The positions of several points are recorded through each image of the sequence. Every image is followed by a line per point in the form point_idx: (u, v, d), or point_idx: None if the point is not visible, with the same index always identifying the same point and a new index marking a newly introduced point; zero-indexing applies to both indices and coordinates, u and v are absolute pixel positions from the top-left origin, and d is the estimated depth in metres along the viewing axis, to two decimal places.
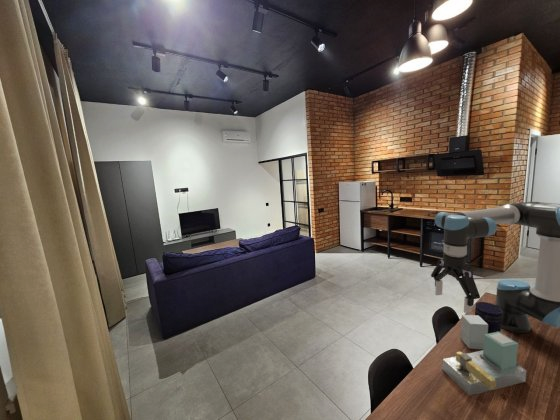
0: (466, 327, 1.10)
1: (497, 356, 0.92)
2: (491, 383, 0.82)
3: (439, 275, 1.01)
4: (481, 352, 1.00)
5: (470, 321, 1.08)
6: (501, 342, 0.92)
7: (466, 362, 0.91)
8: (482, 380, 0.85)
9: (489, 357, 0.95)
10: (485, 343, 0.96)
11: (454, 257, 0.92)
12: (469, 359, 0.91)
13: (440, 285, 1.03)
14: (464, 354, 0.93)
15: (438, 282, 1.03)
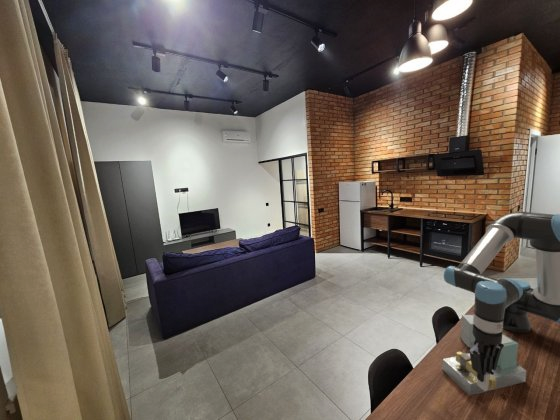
0: (466, 327, 1.10)
1: None
2: (492, 383, 0.82)
3: (485, 364, 0.80)
4: None
5: (470, 321, 1.08)
6: (501, 342, 0.92)
7: (466, 362, 0.91)
8: None
9: None
10: None
11: None
12: (469, 359, 0.91)
13: None
14: (464, 354, 0.93)
15: None
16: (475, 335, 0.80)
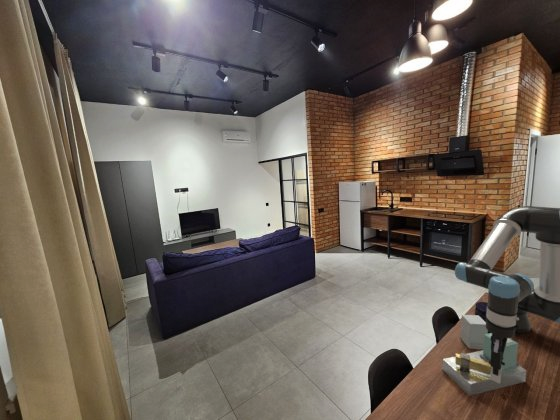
0: (466, 327, 1.10)
1: None
2: None
3: (501, 358, 0.82)
4: (481, 352, 1.00)
5: (470, 321, 1.08)
6: None
7: (470, 362, 0.91)
8: None
9: (489, 357, 0.95)
10: (485, 343, 0.96)
11: None
12: (469, 357, 0.92)
13: None
14: (462, 354, 0.93)
15: None
16: (494, 332, 0.81)
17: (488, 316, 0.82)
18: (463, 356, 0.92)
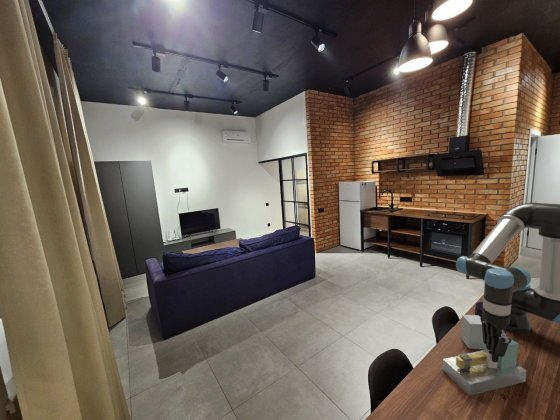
0: (466, 327, 1.10)
1: None
2: None
3: None
4: None
5: (470, 321, 1.08)
6: None
7: (470, 360, 0.91)
8: (484, 361, 0.93)
9: None
10: None
11: None
12: None
13: None
14: (462, 355, 0.92)
15: None
16: (499, 323, 0.84)
17: (491, 310, 0.85)
18: (465, 357, 0.92)
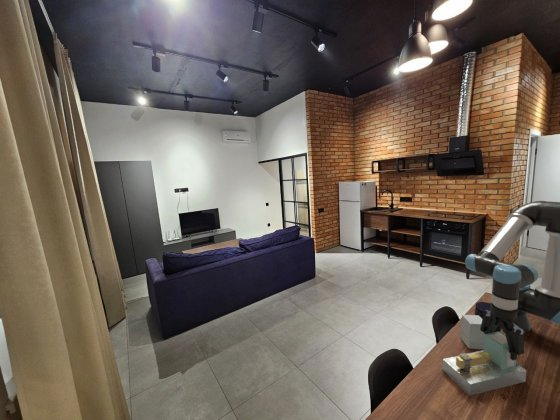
0: (466, 327, 1.10)
1: (497, 356, 0.92)
2: None
3: None
4: None
5: (470, 321, 1.08)
6: (501, 342, 0.92)
7: (470, 360, 0.91)
8: (484, 361, 0.93)
9: None
10: (485, 343, 0.96)
11: None
12: None
13: None
14: (462, 355, 0.92)
15: None
16: (511, 318, 0.88)
17: (504, 306, 0.88)
18: (465, 357, 0.92)
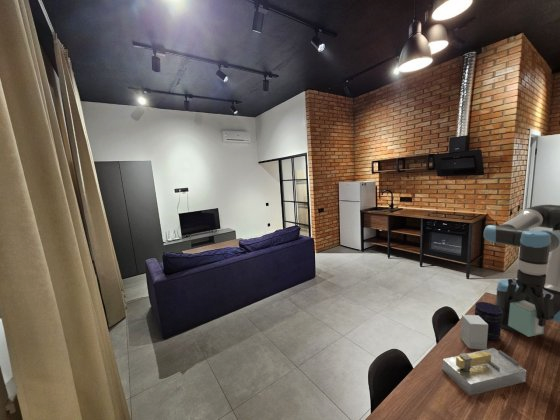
0: (466, 327, 1.10)
1: (524, 323, 0.91)
2: None
3: None
4: None
5: (470, 321, 1.08)
6: (529, 309, 0.90)
7: (470, 360, 0.91)
8: (484, 361, 0.93)
9: (515, 325, 0.94)
10: (511, 311, 0.95)
11: None
12: None
13: None
14: (462, 355, 0.92)
15: None
16: (540, 283, 0.87)
17: (533, 270, 0.87)
18: (465, 357, 0.92)
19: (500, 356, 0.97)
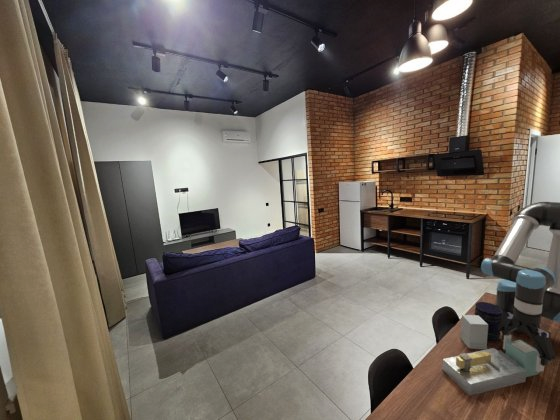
0: (466, 327, 1.10)
1: (520, 365, 0.94)
2: None
3: None
4: None
5: (470, 321, 1.08)
6: (524, 351, 0.93)
7: (470, 360, 0.91)
8: (484, 361, 0.93)
9: None
10: (508, 351, 0.98)
11: None
12: None
13: None
14: (462, 355, 0.92)
15: None
16: (536, 322, 0.89)
17: (528, 310, 0.89)
18: (465, 357, 0.92)
19: (500, 356, 0.97)
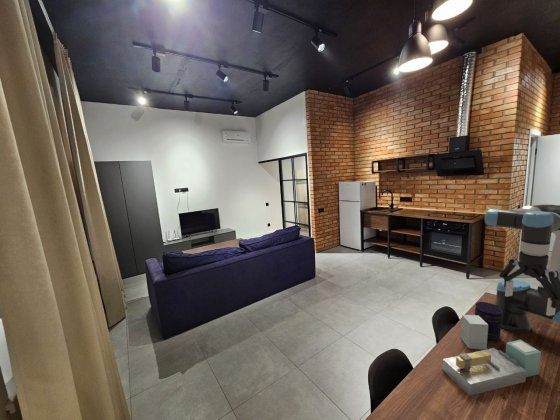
0: (466, 327, 1.10)
1: (520, 365, 0.94)
2: None
3: None
4: None
5: (470, 321, 1.08)
6: (524, 351, 0.93)
7: (470, 360, 0.91)
8: (484, 361, 0.93)
9: None
10: (508, 351, 0.98)
11: None
12: None
13: None
14: (462, 355, 0.92)
15: None
16: (542, 263, 0.85)
17: (535, 251, 0.86)
18: (465, 357, 0.92)
19: (500, 356, 0.97)
